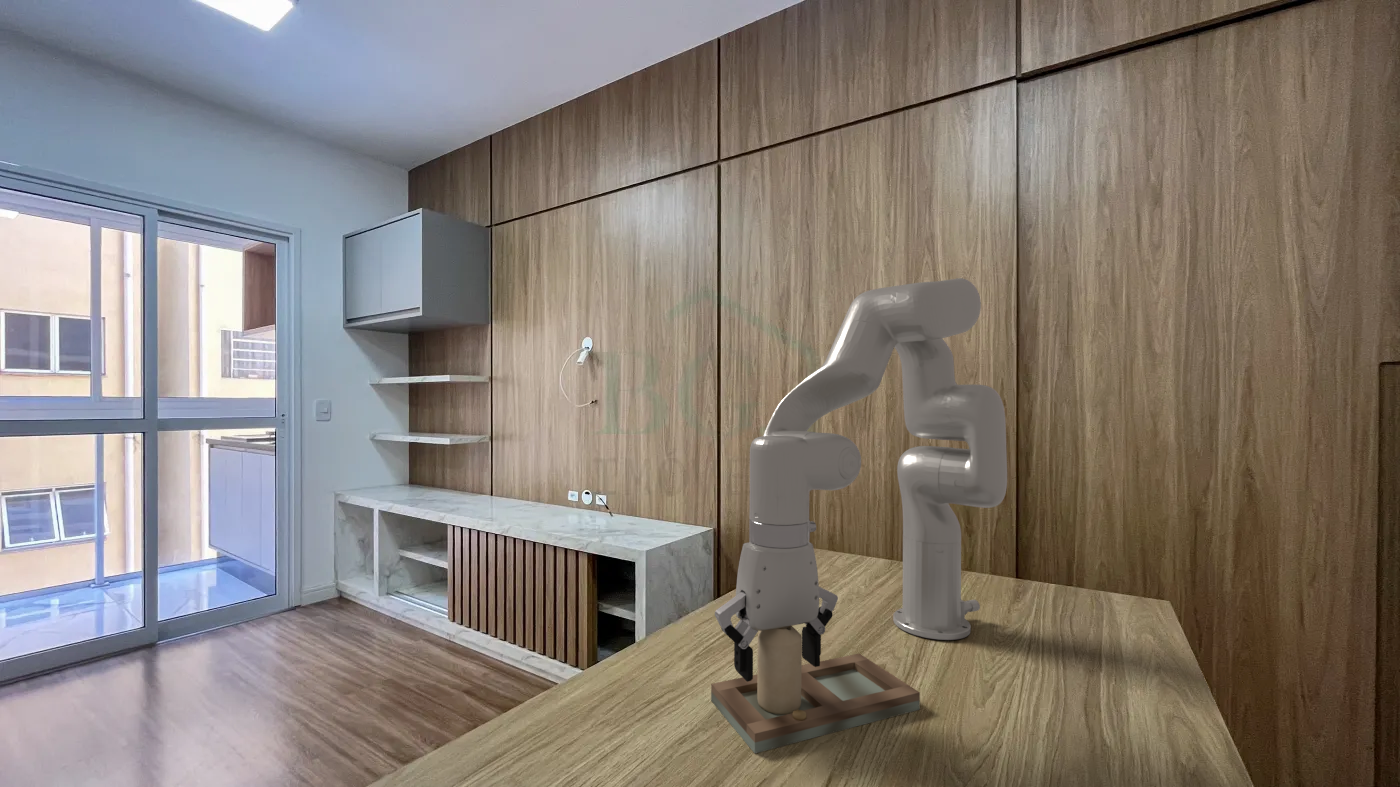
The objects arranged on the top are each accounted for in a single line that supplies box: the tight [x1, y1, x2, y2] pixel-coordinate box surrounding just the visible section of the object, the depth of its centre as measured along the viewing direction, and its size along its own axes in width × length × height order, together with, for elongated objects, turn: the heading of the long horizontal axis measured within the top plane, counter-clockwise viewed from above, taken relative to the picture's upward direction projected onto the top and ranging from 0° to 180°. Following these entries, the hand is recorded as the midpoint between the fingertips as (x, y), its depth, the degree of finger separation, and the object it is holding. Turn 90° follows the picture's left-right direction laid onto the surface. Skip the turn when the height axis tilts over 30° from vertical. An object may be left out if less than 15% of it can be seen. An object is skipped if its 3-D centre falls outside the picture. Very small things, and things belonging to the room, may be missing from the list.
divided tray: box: [710, 653, 921, 754], centre depth 74 cm, size 24×12×3 cm, turn 113°
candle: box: [757, 626, 803, 714], centre depth 72 cm, size 6×6×10 cm
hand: (778, 669), depth 72 cm, fingers open, 9 cm apart
